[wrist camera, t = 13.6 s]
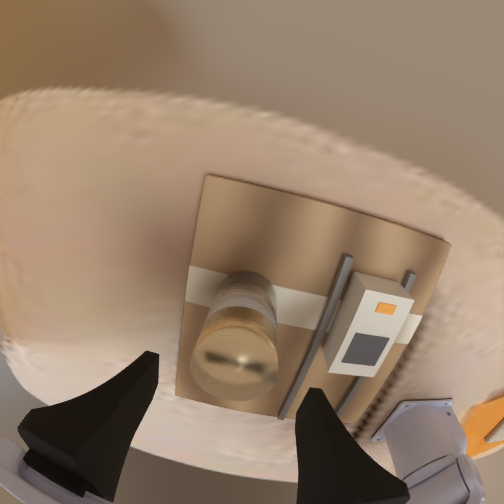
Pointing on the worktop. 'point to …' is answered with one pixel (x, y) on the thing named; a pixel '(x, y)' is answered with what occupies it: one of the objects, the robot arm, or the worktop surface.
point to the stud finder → (366, 325)
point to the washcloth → (496, 433)
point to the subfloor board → (300, 285)
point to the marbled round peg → (238, 340)
